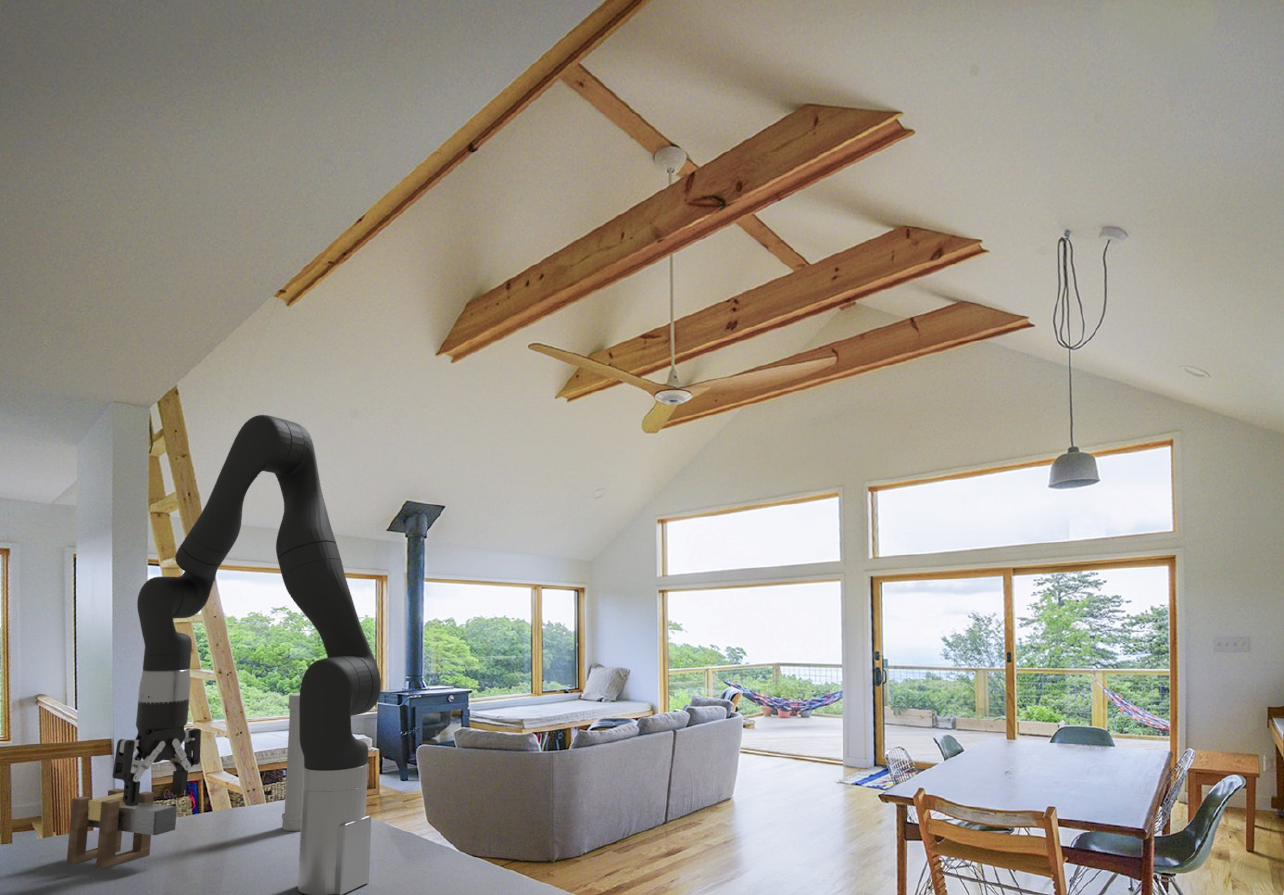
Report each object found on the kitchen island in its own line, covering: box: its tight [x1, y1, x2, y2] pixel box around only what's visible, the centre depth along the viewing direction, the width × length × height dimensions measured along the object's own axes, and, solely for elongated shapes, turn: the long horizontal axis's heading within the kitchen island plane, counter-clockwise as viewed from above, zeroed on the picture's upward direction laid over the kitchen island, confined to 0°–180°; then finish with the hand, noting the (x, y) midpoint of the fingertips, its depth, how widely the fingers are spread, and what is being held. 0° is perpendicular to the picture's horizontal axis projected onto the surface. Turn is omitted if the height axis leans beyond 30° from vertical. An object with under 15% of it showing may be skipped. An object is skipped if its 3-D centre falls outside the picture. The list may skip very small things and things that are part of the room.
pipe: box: [281, 662, 304, 832], centre depth 165 cm, size 6×6×30 cm
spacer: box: [88, 792, 124, 821], centre depth 146 cm, size 3×7×3 cm, turn 158°
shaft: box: [88, 802, 178, 836], centre depth 145 cm, size 18×4×4 cm, turn 68°
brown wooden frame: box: [66, 788, 155, 869], centre depth 146 cm, size 9×8×10 cm
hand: (155, 799), depth 143 cm, fingers open, 8 cm apart
